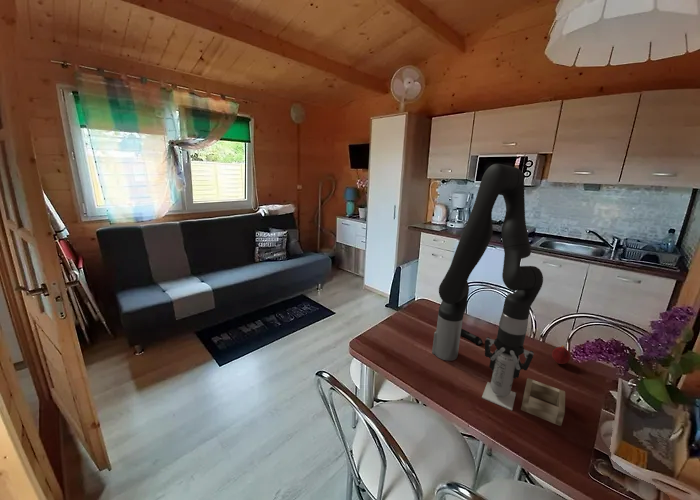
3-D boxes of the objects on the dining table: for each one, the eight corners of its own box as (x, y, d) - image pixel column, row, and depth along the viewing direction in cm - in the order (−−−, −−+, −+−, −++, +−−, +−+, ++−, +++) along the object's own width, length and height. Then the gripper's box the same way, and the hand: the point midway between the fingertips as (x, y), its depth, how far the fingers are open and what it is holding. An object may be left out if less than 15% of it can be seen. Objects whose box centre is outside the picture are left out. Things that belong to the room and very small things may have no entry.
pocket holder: (520, 409, 95) (523, 396, 94) (524, 390, 104) (527, 377, 102) (561, 426, 90) (564, 412, 88) (561, 404, 98) (565, 391, 97)
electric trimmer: (453, 328, 143) (454, 322, 142) (483, 344, 130) (484, 337, 129) (448, 330, 141) (448, 324, 140) (477, 346, 128) (478, 340, 127)
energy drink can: (513, 398, 97) (522, 358, 93) (494, 397, 98) (502, 357, 93) (504, 385, 103) (512, 346, 99) (487, 384, 103) (494, 346, 99)
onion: (570, 369, 115) (575, 351, 113) (554, 367, 116) (558, 349, 114) (563, 360, 120) (568, 342, 118) (547, 358, 121) (551, 340, 119)
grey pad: (481, 397, 100) (481, 396, 100) (487, 382, 107) (487, 381, 107) (511, 410, 95) (512, 409, 95) (515, 393, 102) (516, 392, 102)
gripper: (540, 329, 93) (529, 375, 97) (490, 315, 101) (482, 358, 105) (538, 341, 87) (527, 389, 92) (485, 325, 95) (477, 370, 99)
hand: (503, 372), depth 98 cm, fingers closed on energy drink can, 6 cm apart
